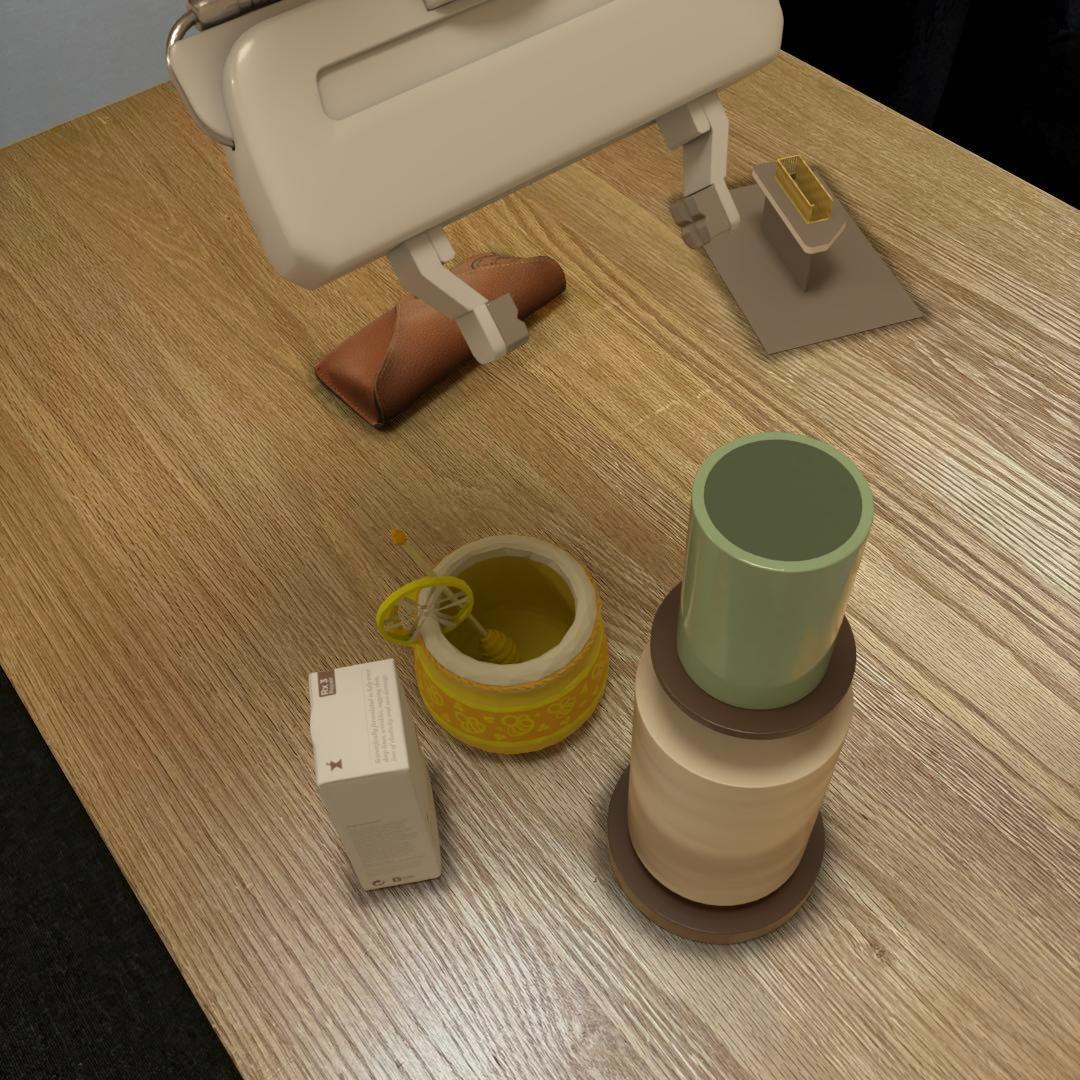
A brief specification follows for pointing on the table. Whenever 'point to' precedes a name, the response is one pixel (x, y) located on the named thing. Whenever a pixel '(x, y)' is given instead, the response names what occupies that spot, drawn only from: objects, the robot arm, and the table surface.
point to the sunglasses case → (427, 338)
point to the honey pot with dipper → (503, 641)
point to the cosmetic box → (374, 774)
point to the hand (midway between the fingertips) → (615, 294)
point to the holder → (724, 795)
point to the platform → (803, 262)
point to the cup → (769, 566)
